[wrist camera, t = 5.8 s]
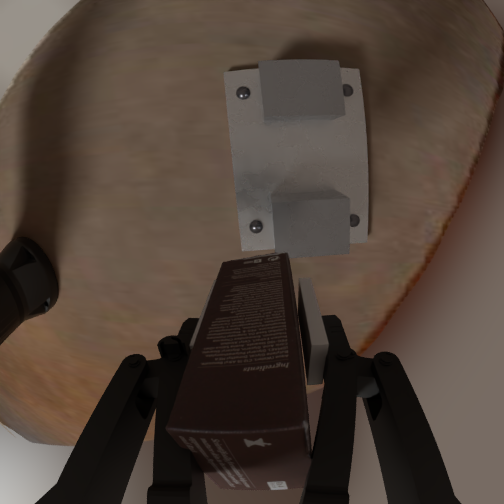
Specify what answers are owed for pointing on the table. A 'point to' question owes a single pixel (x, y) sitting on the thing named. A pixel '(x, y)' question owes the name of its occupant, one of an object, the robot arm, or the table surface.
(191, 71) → the table surface
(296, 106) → the wall mount bracket
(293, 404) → the box
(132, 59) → the table surface
